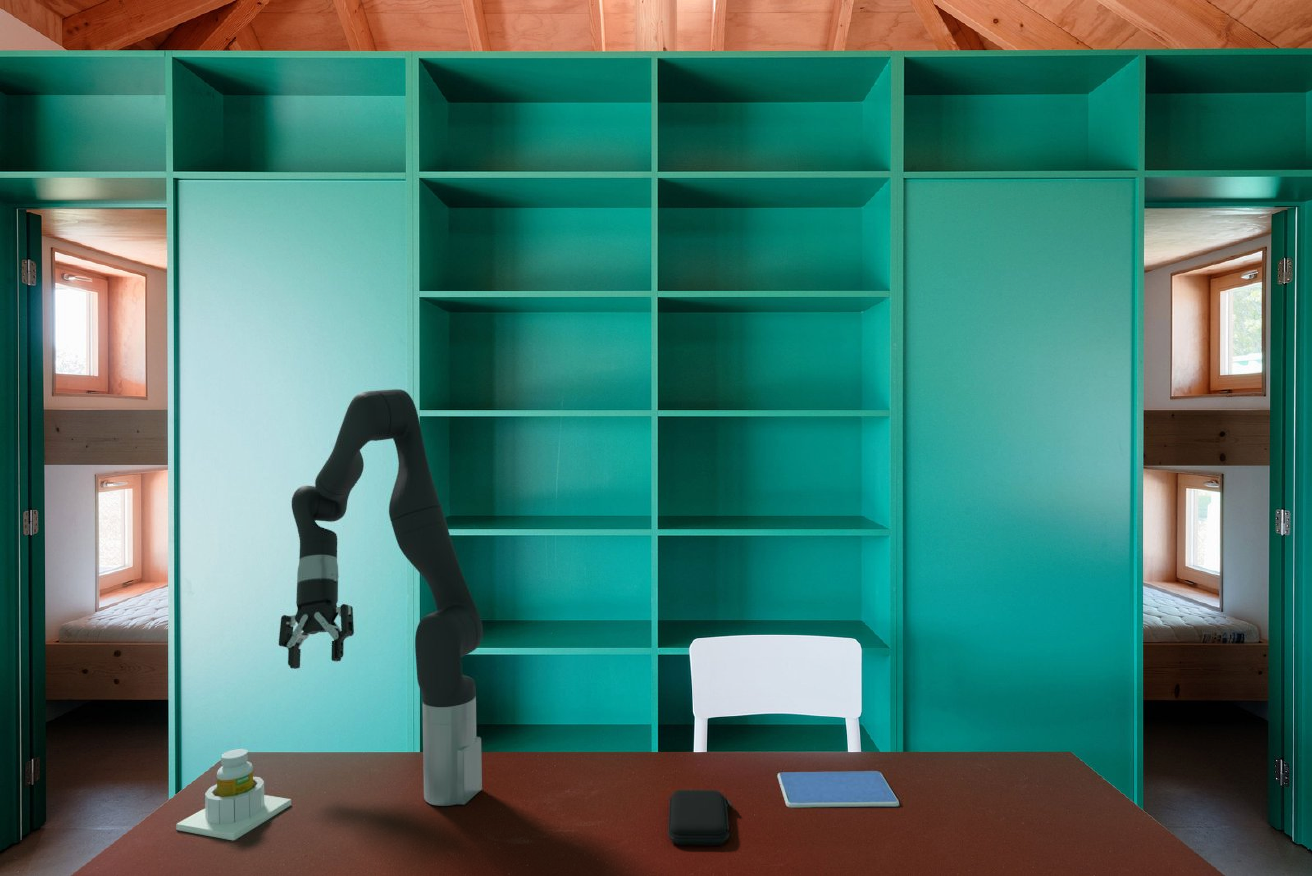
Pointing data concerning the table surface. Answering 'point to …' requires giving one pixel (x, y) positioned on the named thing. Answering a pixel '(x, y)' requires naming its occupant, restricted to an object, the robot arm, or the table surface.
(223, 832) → the sleeve holder
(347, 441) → the robot arm
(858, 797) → the tablet computer
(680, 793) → the carrying case or bag
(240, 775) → the supplement bottle
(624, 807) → the table surface
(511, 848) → the table surface
